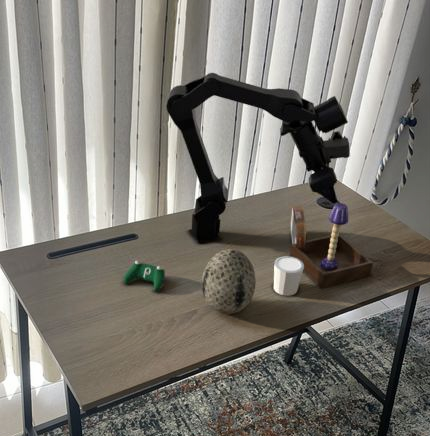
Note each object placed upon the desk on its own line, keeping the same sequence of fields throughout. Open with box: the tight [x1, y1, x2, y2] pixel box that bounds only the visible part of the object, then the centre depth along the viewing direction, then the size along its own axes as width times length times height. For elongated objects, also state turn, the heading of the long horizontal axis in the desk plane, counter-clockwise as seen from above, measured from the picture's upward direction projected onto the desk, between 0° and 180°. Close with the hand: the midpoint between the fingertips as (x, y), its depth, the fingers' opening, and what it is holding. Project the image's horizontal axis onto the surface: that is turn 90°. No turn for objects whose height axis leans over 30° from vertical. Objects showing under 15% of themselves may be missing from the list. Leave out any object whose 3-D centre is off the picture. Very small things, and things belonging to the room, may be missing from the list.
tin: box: [290, 205, 307, 252], centre depth 173 cm, size 15×3×8 cm, turn 179°
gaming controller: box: [122, 260, 166, 293], centre depth 156 cm, size 9×4×6 cm
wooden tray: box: [289, 233, 374, 289], centre depth 167 cm, size 14×14×4 cm
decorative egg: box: [201, 248, 257, 315], centre depth 146 cm, size 12×12×15 cm
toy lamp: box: [321, 202, 349, 270], centre depth 162 cm, size 5×5×17 cm
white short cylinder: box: [273, 255, 304, 297], centre depth 157 cm, size 7×7×7 cm
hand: (333, 193), depth 167 cm, fingers open, 9 cm apart
